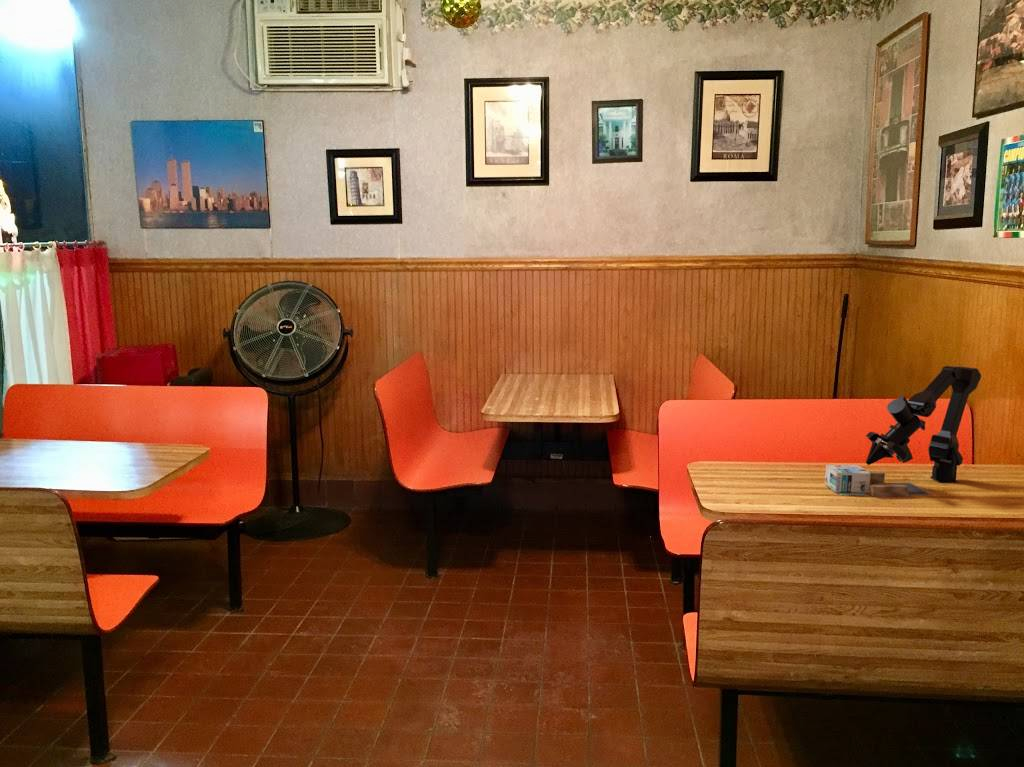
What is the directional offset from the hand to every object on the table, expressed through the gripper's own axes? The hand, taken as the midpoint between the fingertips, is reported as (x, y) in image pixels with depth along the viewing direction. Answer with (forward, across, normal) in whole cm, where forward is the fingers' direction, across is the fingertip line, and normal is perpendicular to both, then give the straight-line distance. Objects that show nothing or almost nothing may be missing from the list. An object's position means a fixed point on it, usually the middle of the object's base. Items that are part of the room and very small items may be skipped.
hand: (867, 463), depth 273 cm
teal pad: (+11, 0, -1) cm, 11 cm away
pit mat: (-4, 0, -16) cm, 17 cm away
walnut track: (+3, 0, -9) cm, 9 cm away
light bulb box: (+4, 0, -3) cm, 5 cm away
